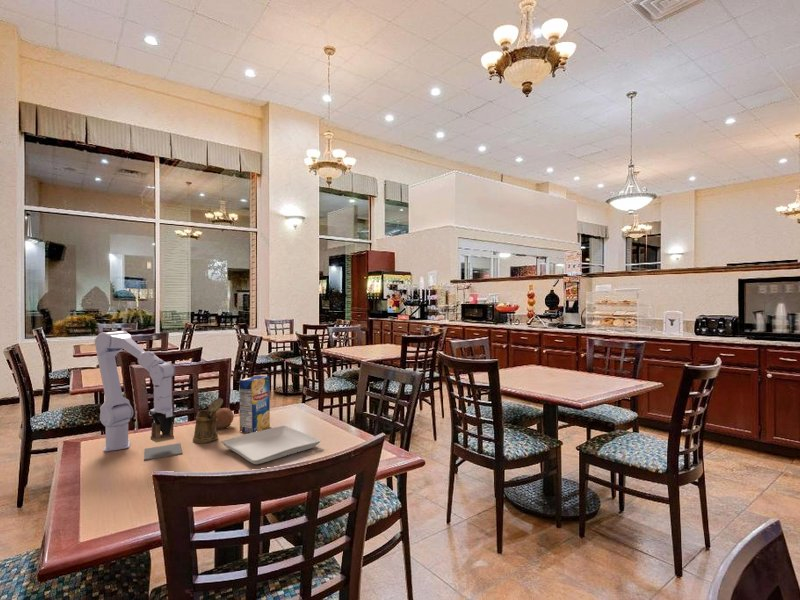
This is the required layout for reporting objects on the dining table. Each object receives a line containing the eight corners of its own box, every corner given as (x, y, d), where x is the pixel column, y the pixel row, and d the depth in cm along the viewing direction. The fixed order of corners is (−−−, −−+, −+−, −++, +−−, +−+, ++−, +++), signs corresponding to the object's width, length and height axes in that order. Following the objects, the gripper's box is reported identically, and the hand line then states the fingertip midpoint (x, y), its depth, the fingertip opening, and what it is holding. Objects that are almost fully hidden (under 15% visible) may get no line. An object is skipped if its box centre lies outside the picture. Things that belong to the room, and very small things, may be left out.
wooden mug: (209, 447, 163) (209, 399, 163) (188, 441, 170) (187, 395, 170) (229, 440, 171) (229, 395, 171) (208, 434, 178) (207, 391, 178)
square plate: (219, 450, 161) (219, 440, 161) (284, 433, 180) (284, 424, 180) (253, 470, 142) (253, 459, 142) (322, 449, 161) (322, 439, 161)
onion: (212, 436, 185) (201, 416, 184) (228, 424, 194) (217, 405, 193) (226, 431, 181) (214, 410, 180) (242, 419, 189) (231, 399, 188)
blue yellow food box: (239, 431, 182) (239, 380, 181) (257, 424, 192) (257, 375, 191) (252, 433, 179) (251, 381, 179) (269, 426, 189) (269, 376, 189)
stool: (150, 439, 157) (150, 422, 158) (168, 436, 162) (168, 420, 162) (155, 442, 153) (156, 425, 154) (173, 439, 158) (174, 422, 158)
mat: (144, 450, 160) (144, 448, 160) (180, 444, 166) (180, 443, 166) (144, 460, 150) (144, 459, 150) (182, 454, 156) (182, 452, 156)
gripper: (144, 394, 160) (145, 431, 160) (157, 401, 150) (157, 440, 150) (165, 391, 165) (165, 426, 165) (178, 397, 155) (178, 435, 155)
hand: (163, 432), depth 158 cm, fingers closed on stool, 6 cm apart
